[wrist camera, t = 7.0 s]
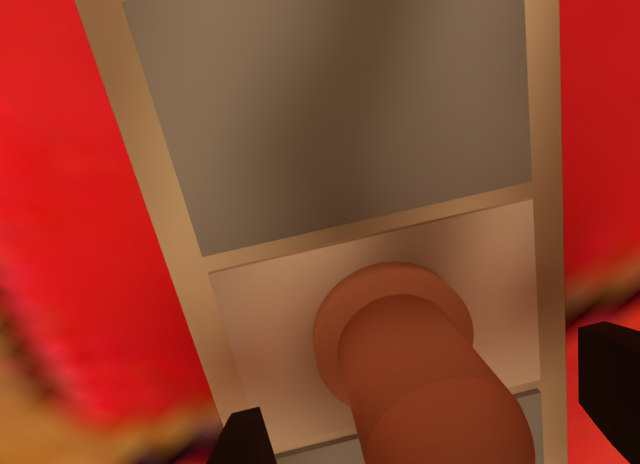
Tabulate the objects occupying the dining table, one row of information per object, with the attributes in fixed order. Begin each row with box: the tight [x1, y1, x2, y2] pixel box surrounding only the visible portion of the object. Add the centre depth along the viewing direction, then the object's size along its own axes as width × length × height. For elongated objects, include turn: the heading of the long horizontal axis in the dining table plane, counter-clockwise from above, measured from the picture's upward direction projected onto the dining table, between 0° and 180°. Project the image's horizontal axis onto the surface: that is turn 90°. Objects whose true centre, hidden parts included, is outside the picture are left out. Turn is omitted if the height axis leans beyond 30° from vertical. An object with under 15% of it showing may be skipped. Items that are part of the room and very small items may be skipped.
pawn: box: [313, 261, 536, 464], centre depth 9 cm, size 4×4×6 cm
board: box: [75, 0, 568, 464], centre depth 11 cm, size 11×27×1 cm, turn 12°
